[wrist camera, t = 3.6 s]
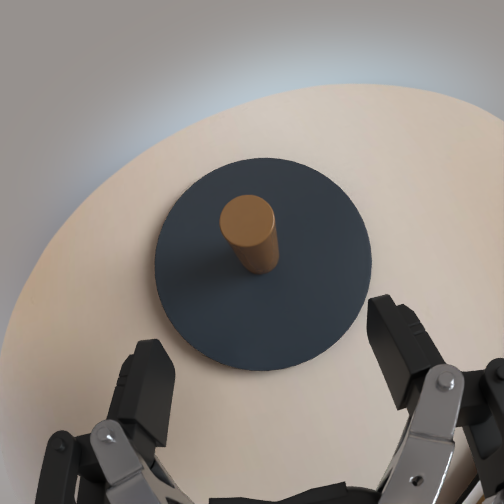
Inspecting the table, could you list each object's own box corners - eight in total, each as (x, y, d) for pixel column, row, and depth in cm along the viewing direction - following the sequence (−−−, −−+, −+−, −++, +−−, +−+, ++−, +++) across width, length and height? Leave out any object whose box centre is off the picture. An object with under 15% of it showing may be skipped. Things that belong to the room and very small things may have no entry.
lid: (177, 381, 20) (120, 404, 12) (154, 190, 24) (106, 137, 16) (388, 340, 19) (442, 345, 11) (334, 150, 23) (349, 80, 15)
